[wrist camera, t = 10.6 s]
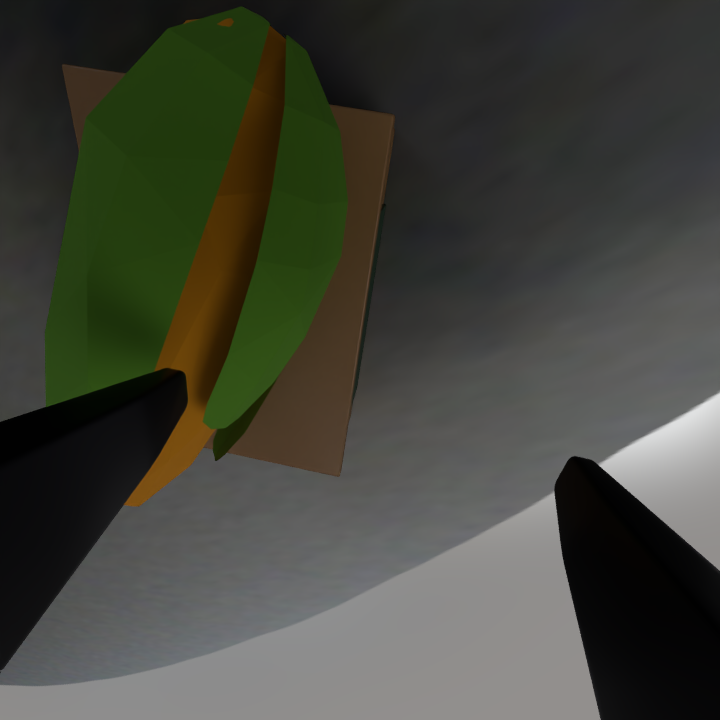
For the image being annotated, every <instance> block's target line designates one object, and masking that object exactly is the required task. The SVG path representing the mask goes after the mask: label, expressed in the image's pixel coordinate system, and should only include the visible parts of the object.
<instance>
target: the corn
mask: <svg viewBox="0 0 720 720" xmlns="http://www.w3.org/2000/svg"><path fill="white" fill-rule="evenodd" d="M283 34H284V33H283ZM284 35H285V34H284ZM285 37H286V39H285V38H284V37H283V36H281V35H280V34H279V33H278V32H277V31H276V30H274V29H273V28H272V27H271V26H270V23H269V22H268V21H267V20H266V19H265V18H264V17H262V16H260V15H258V14H256V13H254V12H252V11H250V10H248V9H245V8H243V7H238V8H235V9H232V10H228V11H225V12H222V13H218V14H215V15H211V16H208V17H205V18H201V19H194V20H186V21H185V22H184V24H181V25H178V26H175V27H171V28H168V29H167V30H166V31H165V32H164V33H163V34H162V35H161V36H160V37H159V39H158V40H157V41H156V42H155V43H154V44H153V45H152V46H151V47H150V48H149V49H148V50H147V52H146V53H145V54H144V55H143V56H142V57H141V58H140V59H139V60H138V61H137V62H136V63H135V65H134V66H133V67H132V68H131V69H130V70H129V71H128V72H127V73H126V74H125V75H124V76H123V78H122V79H121V80H120V81H119V82H118V83H117V84H116V85H115V86H114V87H113V88H112V89H111V91H110V92H109V93H108V94H107V95H106V96H105V97H104V98H103V99H102V100H101V101H100V102H99V104H98V105H97V106H96V107H95V108H94V109H93V110H92V111H91V112H90V113H89V114H88V115H87V117H86V119H85V124H84V129H83V134H82V140H81V145H80V150H79V156H78V161H77V166H76V171H75V177H74V182H73V187H72V192H71V198H70V203H69V208H68V214H67V219H66V224H65V229H64V235H63V240H62V245H61V250H60V256H59V261H58V266H57V272H56V277H55V282H54V287H53V293H52V298H51V303H50V308H49V314H48V319H47V324H46V330H45V374H46V407H48V406H51V405H54V404H57V403H60V402H63V401H66V400H69V399H72V398H75V397H78V396H81V395H84V394H87V393H90V392H93V391H96V390H99V389H103V388H106V387H109V386H112V385H115V384H118V383H121V382H124V381H127V380H130V379H133V378H136V377H139V376H142V375H145V374H148V373H151V372H155V371H158V370H161V369H164V368H172V369H176V370H181V371H183V372H184V373H185V375H186V381H187V392H188V404H187V407H186V409H185V411H184V413H183V415H182V416H181V418H180V420H179V422H178V423H177V425H176V427H175V429H174V430H173V432H172V434H171V436H170V437H169V439H168V441H167V442H166V444H165V446H164V448H163V449H162V451H161V453H160V454H159V456H158V458H157V459H156V461H155V462H154V464H153V465H152V467H151V468H150V470H149V471H148V472H147V474H146V475H145V476H144V478H143V479H142V480H141V482H140V483H139V485H138V486H137V487H136V489H135V490H134V491H133V493H132V494H131V495H130V497H129V498H128V500H127V501H126V502H125V504H124V505H128V506H140V505H141V504H143V503H144V502H145V501H146V500H148V499H149V498H150V497H151V496H153V495H154V494H155V493H156V492H158V491H159V490H160V489H161V488H163V487H164V486H165V485H166V484H168V483H169V482H170V481H171V480H173V479H174V478H175V477H177V476H178V475H179V474H180V473H182V472H183V471H184V470H185V469H187V468H188V467H189V466H190V465H191V464H192V463H193V461H194V460H195V458H196V457H197V455H198V454H199V453H200V451H201V450H202V448H203V447H204V445H205V444H206V443H207V441H208V440H209V438H210V437H211V435H212V434H213V432H214V431H215V430H216V429H217V431H216V434H215V437H214V439H213V453H214V456H215V461H217V460H219V459H220V458H221V457H222V456H223V455H225V454H226V453H227V452H228V451H229V450H230V448H231V447H232V446H233V445H234V444H235V443H236V442H237V441H238V440H239V439H240V438H241V437H242V435H243V434H244V433H245V432H246V430H247V429H248V427H249V425H250V424H251V422H252V420H253V419H254V417H255V415H256V414H257V412H258V410H259V409H260V407H261V405H262V404H263V402H264V400H265V399H266V397H267V395H268V394H269V392H270V390H271V389H272V387H273V385H274V384H275V382H276V380H277V378H278V376H279V374H280V373H281V371H282V370H283V368H284V367H285V366H286V364H287V363H288V361H289V360H290V358H291V357H292V355H293V354H294V353H295V351H296V350H297V348H298V347H299V345H300V344H301V342H302V341H303V340H304V338H305V336H306V334H307V332H308V329H309V327H310V325H311V323H312V320H313V318H314V316H315V314H316V311H317V309H318V307H319V305H320V302H321V300H322V298H323V296H324V293H325V291H326V289H327V287H328V284H329V282H330V280H331V278H332V276H333V273H334V271H335V269H336V267H337V264H338V262H339V260H340V258H341V254H342V246H343V238H344V230H345V222H346V214H347V206H348V196H347V187H346V178H345V169H344V160H343V151H342V143H341V134H340V130H339V127H338V125H337V122H336V120H335V118H334V115H333V113H332V110H331V108H330V106H329V103H328V101H327V98H326V96H325V94H324V91H323V89H322V86H321V84H320V82H319V79H318V77H317V74H316V72H315V70H314V67H313V65H312V62H311V60H310V57H309V55H308V53H307V51H306V50H305V49H304V48H303V47H301V46H300V45H299V44H298V43H297V42H296V41H294V40H293V39H292V38H291V37H290V36H288V35H287V36H286V35H285Z"/></svg>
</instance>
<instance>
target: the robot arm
mask: <svg viewBox="0 0 720 720" xmlns="http://www.w3.org/2000/svg"><path fill="white" fill-rule="evenodd" d="M187 404H188V392H187V381H186V375H185V373H184V372H183V371H181V370H176V369H172V368H164V369H161V370H158V371H155V372H151V373H148V374H145V375H142V376H139V377H136V378H133V379H130V380H127V381H124V382H121V383H118V384H115V385H112V386H109V387H106V388H103V389H99V390H96V391H93V392H90V393H87V394H84V395H81V396H78V397H75V398H72V399H69V400H66V401H63V402H60V403H57V404H54V405H51V406H48V407H44V408H41V409H38V410H35V411H32V412H29V413H26V414H23V415H20V416H17V417H14V418H11V419H8V420H5V421H2V422H0V670H2V669H3V668H4V667H5V666H6V664H7V663H8V662H9V660H10V659H11V658H12V656H13V655H14V654H15V652H16V651H17V649H18V648H19V647H20V645H21V644H22V643H23V641H24V640H25V639H26V637H27V636H28V634H29V633H30V632H31V630H32V629H33V628H34V626H35V625H36V624H37V622H38V621H39V619H40V618H41V617H42V615H43V614H44V613H45V611H46V610H47V609H48V607H49V606H50V604H51V603H52V602H53V600H54V599H55V598H56V596H57V595H58V594H59V592H60V591H61V589H62V588H63V587H64V585H65V584H66V583H67V581H68V580H69V579H70V577H71V576H72V574H73V573H74V572H75V570H76V569H77V568H78V566H79V565H80V564H81V562H82V561H83V560H84V558H85V557H86V555H87V554H88V553H89V551H90V550H91V549H92V547H93V546H94V545H95V543H96V542H97V540H98V539H99V538H100V536H101V535H102V534H103V532H104V531H105V530H106V528H107V527H108V525H109V524H110V523H111V521H112V520H113V519H114V517H115V516H116V515H117V513H118V512H119V510H120V509H121V508H122V506H123V505H124V504H125V502H126V501H127V500H128V498H129V497H130V495H131V494H132V493H133V491H134V490H135V489H136V487H137V486H138V485H139V483H140V482H141V480H142V479H143V478H144V476H145V475H146V474H147V472H148V471H149V470H150V468H151V467H152V465H153V464H154V462H155V461H156V459H157V458H158V456H159V454H160V453H161V451H162V449H163V448H164V446H165V444H166V442H167V441H168V439H169V437H170V436H171V434H172V432H173V430H174V429H175V427H176V425H177V423H178V422H179V420H180V418H181V416H182V415H183V413H184V411H185V409H186V407H187ZM554 491H555V499H556V509H557V516H558V525H559V533H560V541H561V549H562V556H563V560H564V565H565V570H566V574H567V578H568V582H569V587H570V591H571V595H572V600H573V604H574V608H575V612H576V616H577V621H578V625H579V629H580V634H581V638H582V641H583V646H584V650H585V655H586V659H587V663H588V667H589V672H590V676H591V680H592V684H593V689H594V693H595V697H596V701H597V706H598V709H599V714H600V718H601V720H720V571H719V570H718V569H717V568H716V567H715V566H713V565H712V564H711V563H710V562H709V561H708V560H707V559H705V558H704V557H703V556H702V555H701V554H700V553H699V552H697V551H696V550H695V549H694V548H693V547H692V546H691V545H689V544H688V543H687V542H686V541H685V540H684V539H683V538H681V537H680V536H679V535H678V534H677V533H675V532H674V531H673V530H672V529H671V528H670V527H669V526H667V525H666V524H665V523H664V522H663V521H662V520H660V519H659V518H658V517H657V516H656V515H655V514H654V513H653V512H651V511H650V510H649V509H648V508H647V507H646V506H645V505H643V504H642V503H641V502H640V501H639V500H638V499H637V498H635V497H634V496H633V495H632V494H631V493H630V492H628V491H627V490H626V489H625V488H624V487H623V486H622V485H620V484H619V483H618V482H617V481H616V480H615V479H614V478H612V477H611V476H610V475H609V474H608V473H607V472H606V471H604V470H603V469H602V468H601V467H600V466H599V465H598V464H596V463H595V462H594V461H592V460H590V459H586V458H581V457H577V456H574V457H571V458H570V459H569V460H568V461H567V463H566V465H565V467H564V468H563V470H562V472H561V473H560V475H559V477H558V479H557V481H556V483H555V490H554ZM0 673H1V672H0Z"/></svg>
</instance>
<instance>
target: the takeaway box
mask: <svg viewBox="0 0 720 720" xmlns="http://www.w3.org/2000/svg"><path fill="white" fill-rule="evenodd" d="M62 69H63V74H64V79H65V84H66V89H67V94H68V99H69V104H70V109H71V114H72V119H73V124H74V129H75V134H76V139H77V144H78V149H79V150H80V145H81V140H82V134H83V129H84V124H85V119H86V117H87V115H88V114H89V113H90V112H91V111H92V110H93V109H94V108H95V107H96V106H97V105H98V104H99V102H100V101H101V100H102V99H103V98H104V97H105V96H106V95H107V94H108V93H109V92H110V91H111V89H112V88H113V87H114V86H115V85H116V84H117V83H118V82H119V81H120V80H121V79H122V78H123V76H124V75H125V74H126V73H120V72H113V71H107V70H100V69H94V68H87V67H81V66H74V65H67V64H63V65H62ZM329 106H330V108H331V110H332V113H333V115H334V118H335V120H336V122H337V125H338V127H339V130H340V134H341V143H342V151H343V160H344V169H345V178H346V187H347V196H348V206H347V214H346V222H345V230H344V238H343V246H342V254H341V258H340V260H339V262H338V264H337V267H336V269H335V271H334V273H333V276H332V278H331V280H330V282H329V284H328V287H327V289H326V291H325V293H324V296H323V298H322V300H321V302H320V305H319V307H318V309H317V311H316V314H315V316H314V318H313V320H312V323H311V325H310V327H309V329H308V332H307V334H306V336H305V338H304V340H303V341H302V342H301V344H300V345H299V347H298V348H297V350H296V351H295V353H294V354H293V355H292V357H291V358H290V360H289V361H288V363H287V364H286V366H285V367H284V368H283V370H282V371H281V373H280V374H279V376H278V378H277V380H276V382H275V384H274V385H273V387H272V389H271V390H270V392H269V394H268V395H267V397H266V399H265V400H264V402H263V404H262V405H261V407H260V409H259V410H258V412H257V414H256V415H255V417H254V419H253V420H252V422H251V424H250V425H249V427H248V429H247V430H246V432H245V433H244V434H243V435H242V437H241V438H240V439H239V440H238V441H237V442H236V443H235V444H234V445H233V446H232V447H231V448H230V450H229V451H228V452H227V453H231V454H236V455H240V456H245V457H250V458H254V459H259V460H263V461H268V462H273V463H277V464H282V465H286V466H291V467H296V468H300V469H305V470H309V471H314V472H319V473H323V474H328V475H333V476H337V477H339V476H340V473H341V469H342V462H343V456H344V449H345V442H346V436H347V429H348V423H349V419H350V416H351V410H352V404H353V399H354V396H355V392H356V389H357V385H358V378H359V372H360V366H361V359H362V353H363V347H364V340H365V334H366V327H367V321H368V315H369V308H370V302H371V296H372V289H373V283H374V277H375V270H376V264H377V258H378V251H379V245H380V239H381V232H382V226H383V220H384V213H385V207H386V205H385V204H383V203H384V197H385V190H386V184H387V177H388V171H389V164H390V158H391V151H392V145H393V138H394V132H395V129H394V122H395V116H394V115H393V114H389V113H383V112H376V111H370V110H363V109H357V108H350V107H343V106H337V105H330V104H329ZM216 431H217V429H216V430H215V431H214V432H213V434H212V435H211V437H210V438H209V440H208V441H207V443H206V444H205V445H204V447H203V448H208V449H213V439H214V437H215V434H216Z"/></svg>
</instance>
